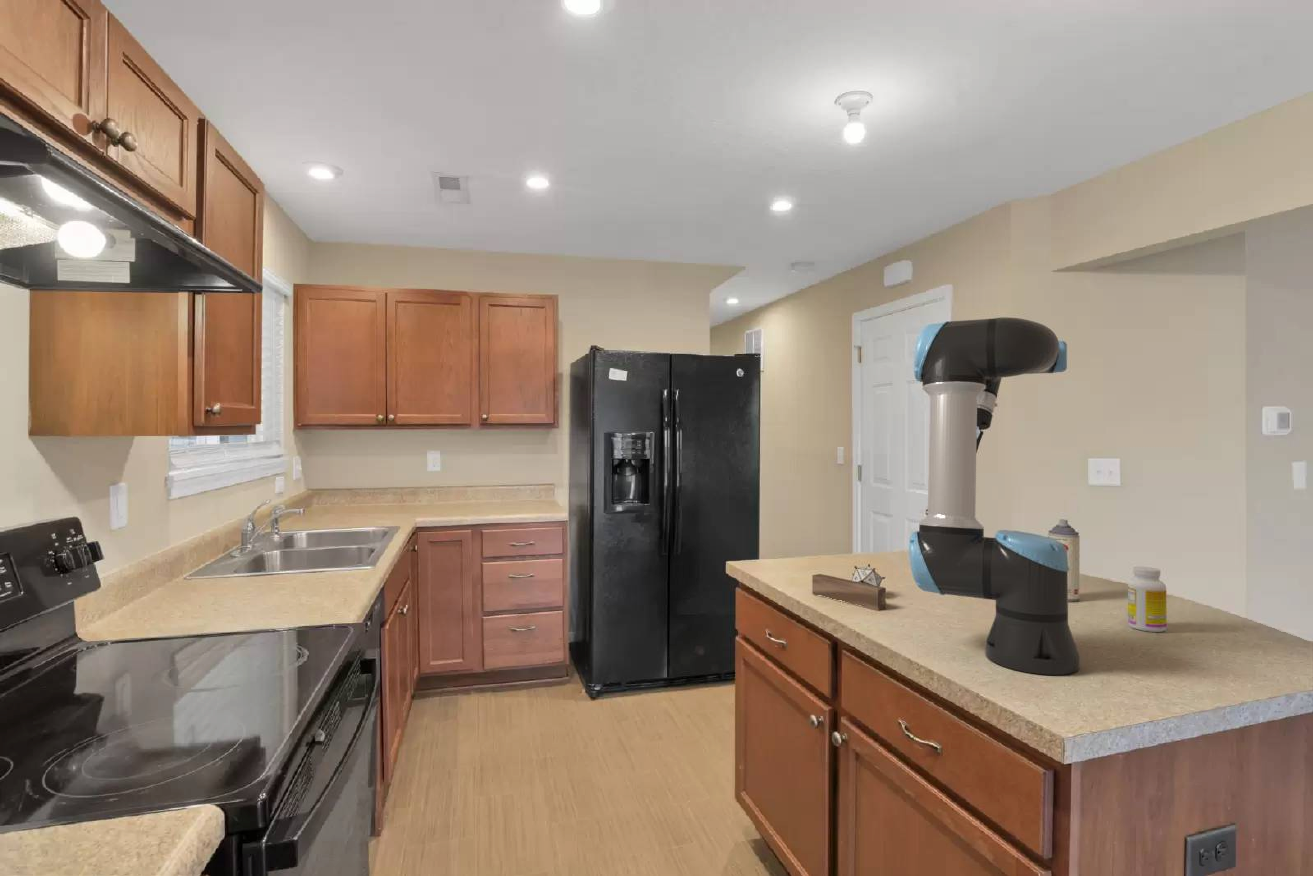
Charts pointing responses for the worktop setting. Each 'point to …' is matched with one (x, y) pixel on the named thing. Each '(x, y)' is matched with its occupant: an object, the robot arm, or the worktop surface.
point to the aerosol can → (1069, 555)
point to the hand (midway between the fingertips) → (956, 497)
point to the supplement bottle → (1147, 600)
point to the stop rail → (849, 591)
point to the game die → (867, 576)
